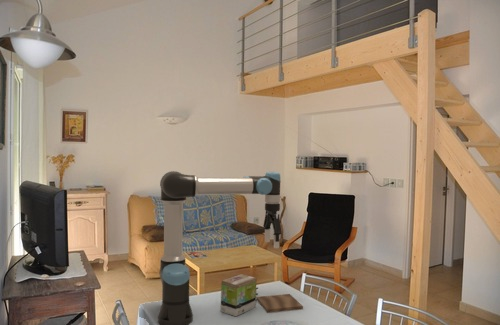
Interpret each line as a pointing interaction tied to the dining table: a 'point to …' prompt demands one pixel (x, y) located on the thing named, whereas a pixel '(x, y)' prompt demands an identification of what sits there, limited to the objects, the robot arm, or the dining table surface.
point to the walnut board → (279, 303)
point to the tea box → (238, 294)
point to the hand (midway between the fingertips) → (271, 244)
